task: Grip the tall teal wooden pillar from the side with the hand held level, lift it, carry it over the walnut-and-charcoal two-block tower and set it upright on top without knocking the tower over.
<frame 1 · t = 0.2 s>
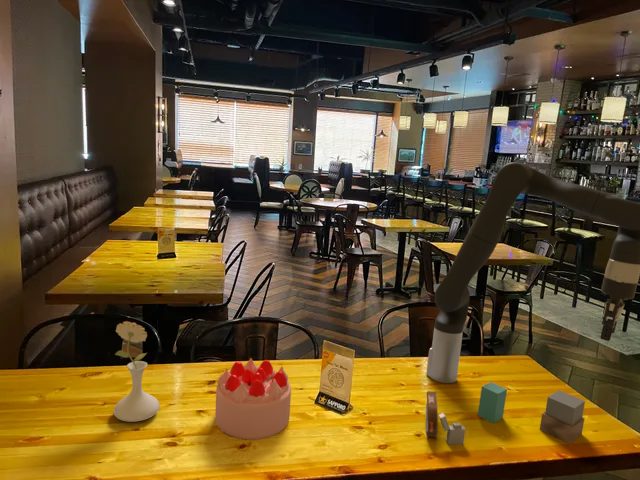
hand: (607, 336, 124), 28 cm above the table, tool pointing down, fingers open, 8 cm apart
cake: (252, 419, 124), on the table
teal pillar: (490, 416, 133), on the table
flower in vase: (134, 413, 122), on the table
lighter: (449, 443, 119), on the table
charcoal middle block: (563, 415, 127), point 5 cm above the table, touching walnut base block
tin: (429, 427, 126), on the table
walnut base block: (560, 432, 128), on the table, touching charcoal middle block
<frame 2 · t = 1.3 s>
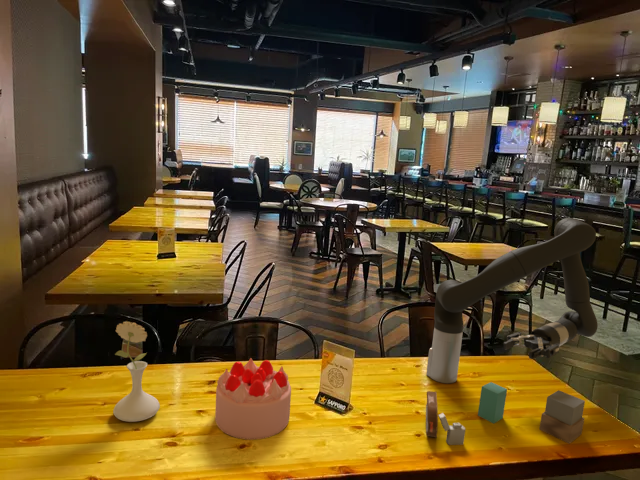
hand: (517, 350, 137), 18 cm above the table, tool horizontal, fingers open, 8 cm apart
nothing on the table moved.
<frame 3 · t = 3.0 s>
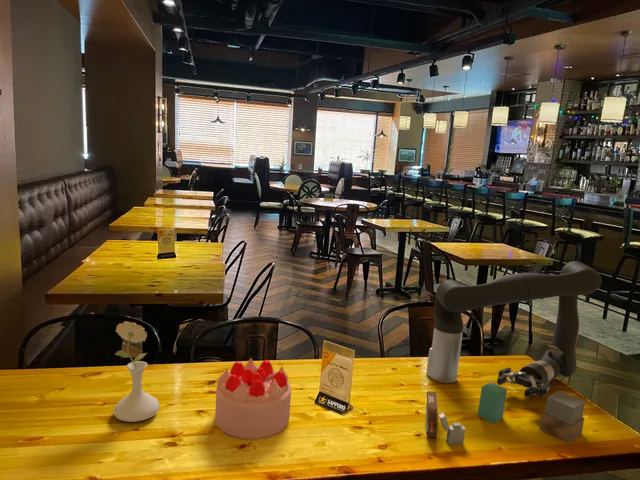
hand: (511, 387, 139), 6 cm above the table, tool horizontal, fingers open, 8 cm apart
nothing on the table moved.
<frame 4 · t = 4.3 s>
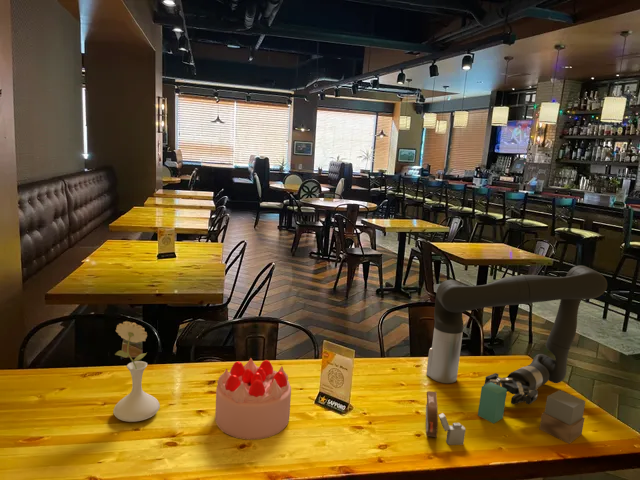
hand: (498, 394, 134), 6 cm above the table, tool horizontal, fingers open, 8 cm apart
charcoal middle block: (563, 415, 127), point 5 cm above the table
walnut base block: (560, 432, 128), on the table
everything else where it was.
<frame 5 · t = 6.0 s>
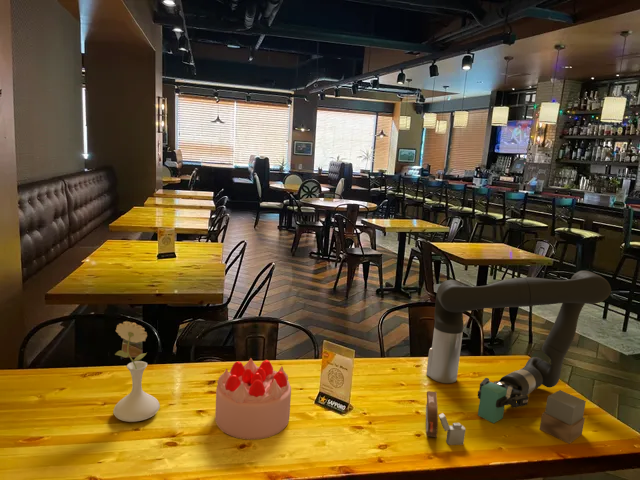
hand: (488, 399, 131), 6 cm above the table, tool horizontal, fingers closed on teal pillar, 5 cm apart
teal pillar: (490, 416, 133), on the table, touching gripper
charcoal middle block: (563, 415, 127), point 5 cm above the table, touching walnut base block
walnut base block: (560, 432, 128), on the table, touching charcoal middle block
everything else where it was.
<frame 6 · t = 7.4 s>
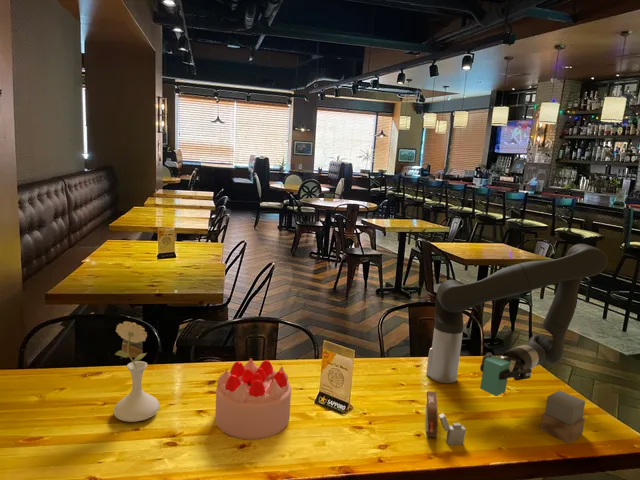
hand: (491, 372, 129), 14 cm above the table, tool horizontal, fingers closed on teal pillar, 5 cm apart
teal pillar: (492, 390, 132), point 8 cm above the table, touching gripper
charcoal middle block: (563, 415, 127), point 5 cm above the table
walnut base block: (560, 432, 128), on the table
everything else where it was.
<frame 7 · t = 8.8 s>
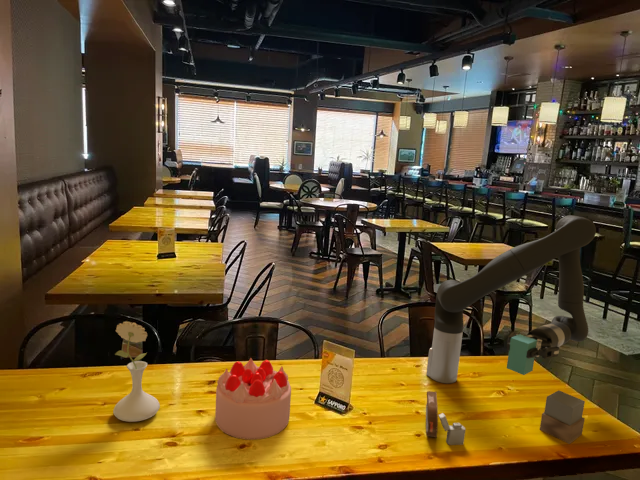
hand: (518, 351, 126), 22 cm above the table, tool horizontal, fingers closed on teal pillar, 5 cm apart
teal pillar: (519, 369, 129), point 16 cm above the table, touching gripper
everything else where it was.
when the fingers open (17 cm above the table, at t = 11.0 s): teal pillar drops 1 cm, resting on charcoal middle block.
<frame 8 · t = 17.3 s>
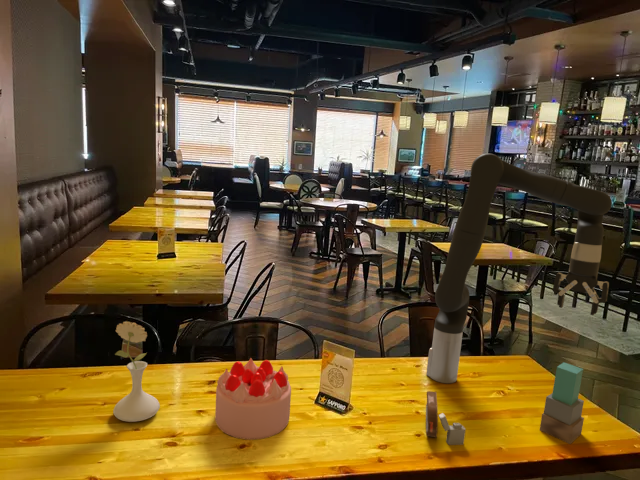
hand: (576, 310, 139), 30 cm above the table, tool pointing down, fingers open, 8 cm apart
teal pillar: (564, 398, 126), point 10 cm above the table, touching charcoal middle block
charcoal middle block: (562, 415, 127), point 5 cm above the table, touching teal pillar, walnut base block
walnut base block: (560, 432, 128), on the table, touching charcoal middle block
everything else where it was.
at the end: teal pillar 0.3 cm off-centre on the walnut base block, point 10.0 cm above the walnut base block's base; teal pillar tilted 0°; charcoal middle block 0.2 cm off-centre on the walnut base block, point 5.0 cm above the walnut base block's base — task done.
